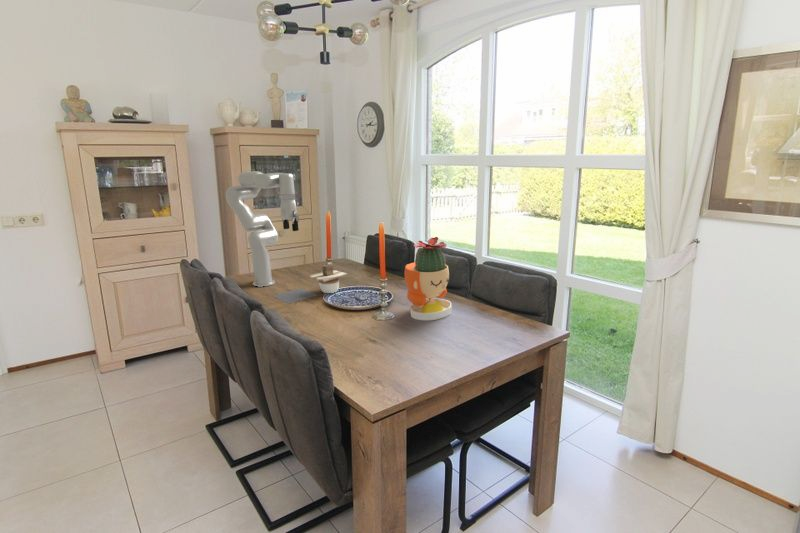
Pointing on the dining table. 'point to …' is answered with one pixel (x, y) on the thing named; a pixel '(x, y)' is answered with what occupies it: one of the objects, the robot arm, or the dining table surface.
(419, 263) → the potted cactus
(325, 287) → the lidded jar
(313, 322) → the dining table surface
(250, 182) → the robot arm
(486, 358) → the dining table surface
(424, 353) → the dining table surface
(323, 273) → the birch lid
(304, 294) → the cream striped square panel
